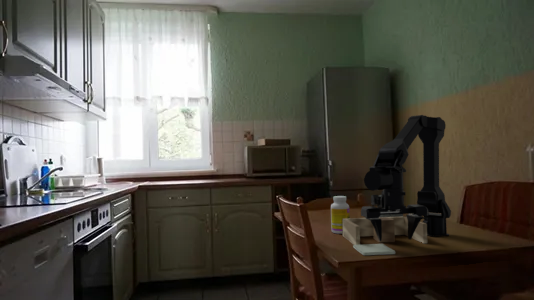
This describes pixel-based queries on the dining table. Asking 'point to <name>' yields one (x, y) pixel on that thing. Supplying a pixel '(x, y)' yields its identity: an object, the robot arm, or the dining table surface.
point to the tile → (373, 249)
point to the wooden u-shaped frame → (365, 228)
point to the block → (386, 230)
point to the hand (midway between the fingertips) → (394, 240)
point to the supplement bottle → (339, 213)
